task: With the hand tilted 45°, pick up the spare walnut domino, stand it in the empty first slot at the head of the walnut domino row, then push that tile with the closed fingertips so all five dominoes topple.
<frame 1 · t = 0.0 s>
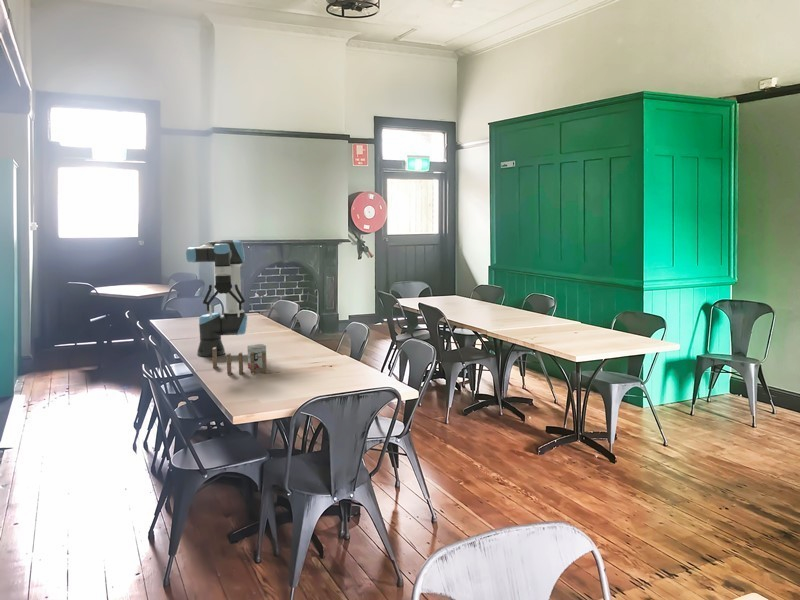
hand: (224, 317, 341), 28 cm above the table, tool pointing down, fingers open, 13 cm apart
domino 2: (229, 373, 341), on the table
head domino: (215, 367, 357), on the table
domino 3: (241, 373, 342), on the table
ink box: (257, 368, 354), on the table
domino 5: (264, 372, 344), on the table
domino 4: (252, 372, 343), on the table
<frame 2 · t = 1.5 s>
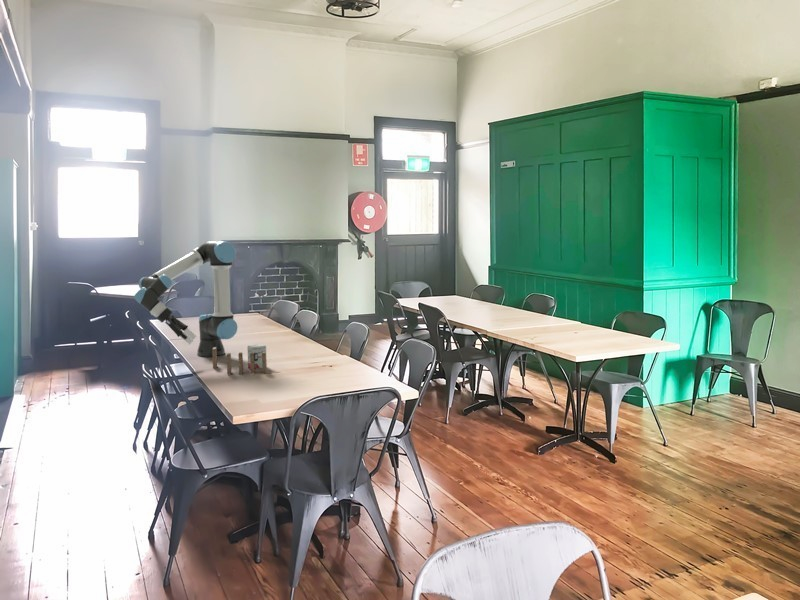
hand: (193, 340, 353), 15 cm above the table, tool tilted 45°, fingers open, 13 cm apart
nothing on the table moved.
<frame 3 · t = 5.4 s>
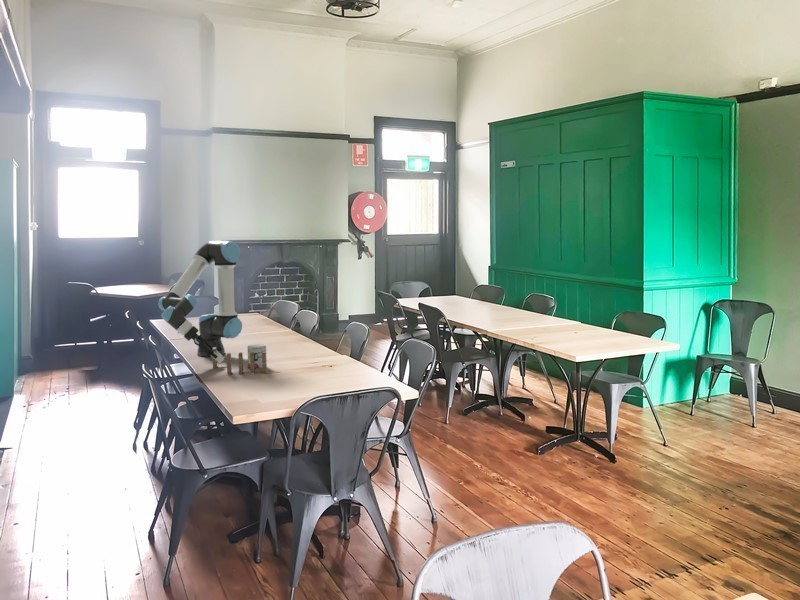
hand: (222, 360, 357), 3 cm above the table, tool tilted 45°, fingers closed on head domino, 5 cm apart
head domino: (215, 367, 357), on the table, touching gripper
everything else where it was.
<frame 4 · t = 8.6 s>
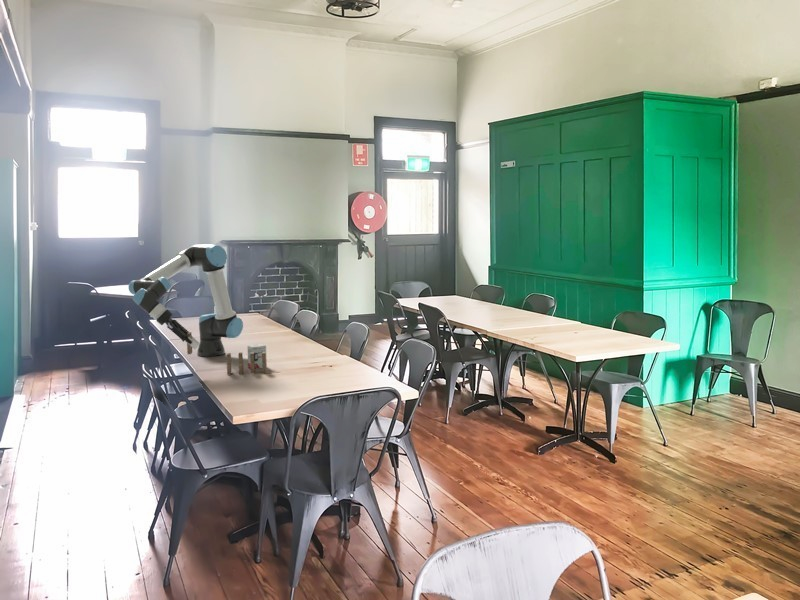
hand: (197, 346, 337), 14 cm above the table, tool tilted 45°, fingers closed on head domino, 5 cm apart
head domino: (190, 353, 337), point 11 cm above the table, touching gripper
everything else where it was.
when the fingers open (5 cm above the table, at t = 11.7 s): head domino drops 2 cm, on the table.
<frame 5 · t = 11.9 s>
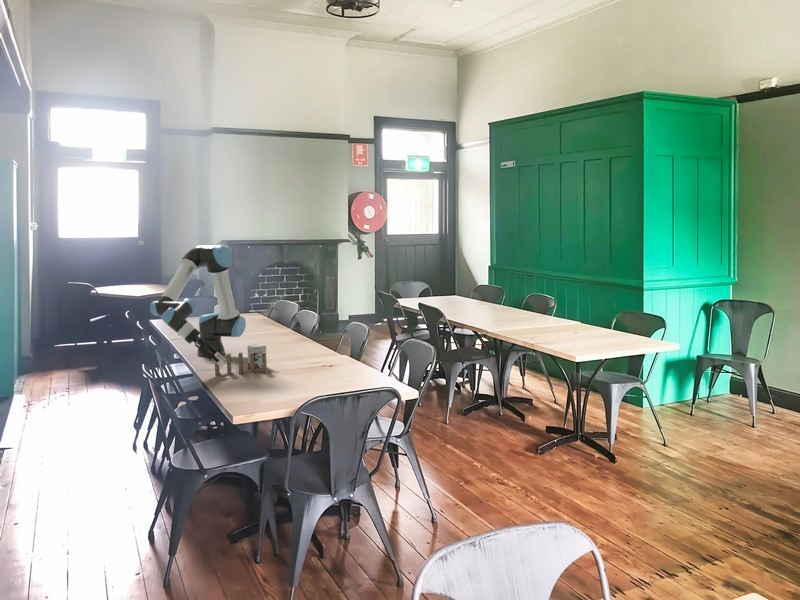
hand: (224, 363, 340), 5 cm above the table, tool tilted 45°, fingers open, 7 cm apart
head domino: (217, 374, 340), on the table
everything else where it was.
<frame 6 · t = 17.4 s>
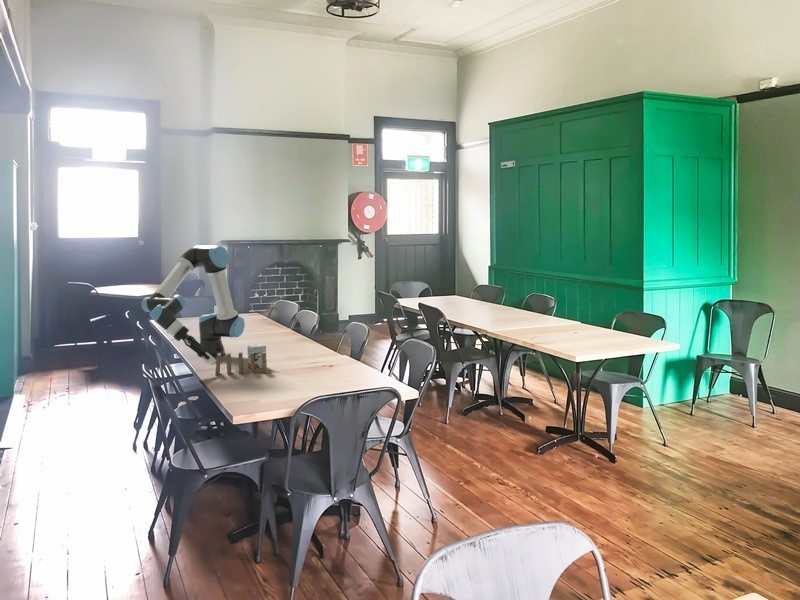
hand: (214, 362, 339), 6 cm above the table, tool tilted 45°, fingers closed
head domino: (217, 373, 340), on the table, tilted 7°
everything else where it was.
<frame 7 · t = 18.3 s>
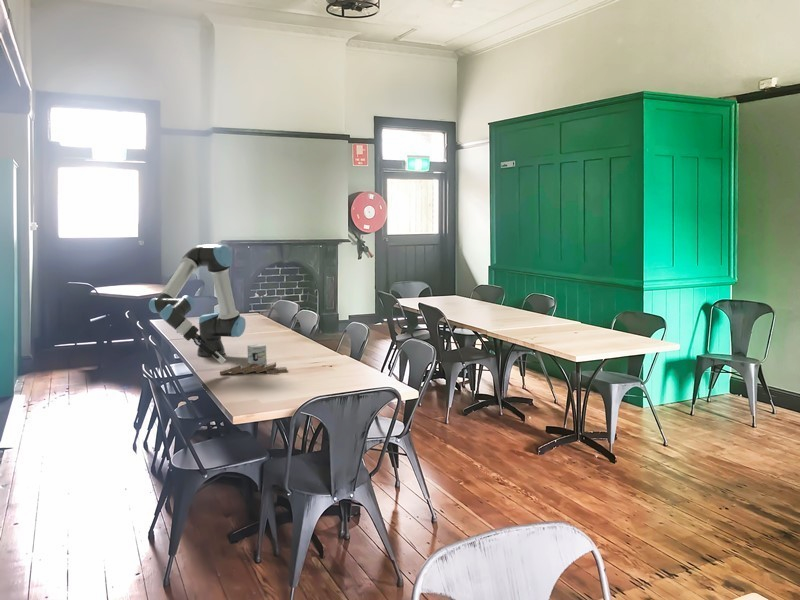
hand: (223, 362, 340), 6 cm above the table, tool tilted 45°, fingers closed
domino 2: (232, 372, 341), point 1 cm above the table, tilted 74°, touching domino 3, head domino
head domino: (220, 372, 340), point 1 cm above the table, tilted 74°, touching domino 2
domino 3: (243, 371, 342), point 1 cm above the table, tilted 74°, touching domino 2, domino 4
domino 5: (266, 370, 344), point 1 cm above the table, tilted 89°, touching domino 4
domino 4: (256, 370, 343), point 1 cm above the table, tilted 73°, touching domino 3, domino 5
everything else where it was.
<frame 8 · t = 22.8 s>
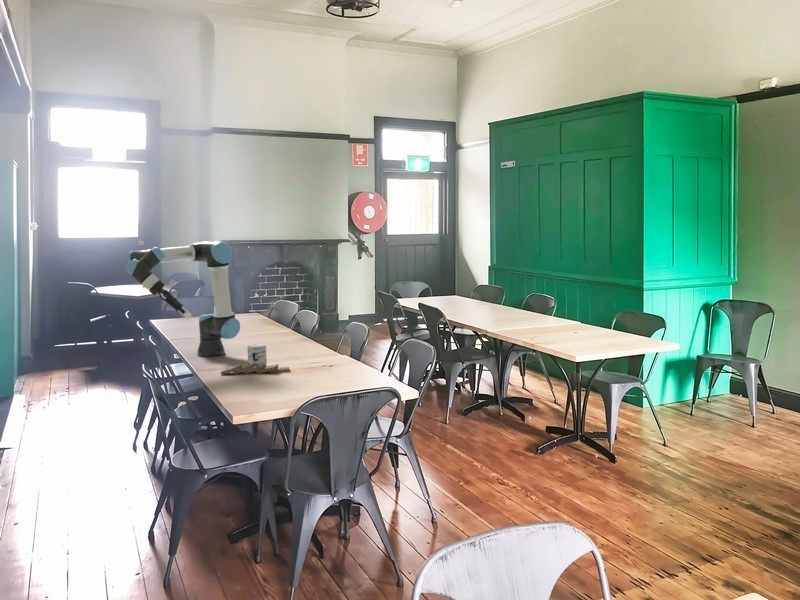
hand: (190, 317, 343), 28 cm above the table, tool tilted 45°, fingers closed
domino 5: (269, 370, 344), on the table, tilted 89°
domino 4: (258, 370, 343), point 1 cm above the table, tilted 79°, touching domino 3
at the end: domino 5 tilted 89°; head domino tilted 74°; head domino inside the target area (0.6 cm from its centre), point 0.7 cm above the table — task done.
